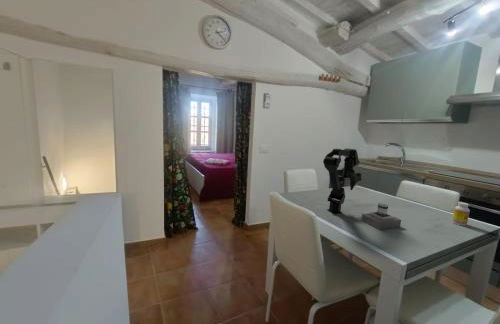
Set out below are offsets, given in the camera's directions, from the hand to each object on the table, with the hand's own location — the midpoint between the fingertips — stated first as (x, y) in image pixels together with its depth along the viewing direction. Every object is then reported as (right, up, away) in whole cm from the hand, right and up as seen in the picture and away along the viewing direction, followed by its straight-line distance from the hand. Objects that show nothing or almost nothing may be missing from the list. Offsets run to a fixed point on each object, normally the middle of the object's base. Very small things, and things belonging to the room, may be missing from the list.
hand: (345, 190), depth 154 cm
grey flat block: (+10, -16, -23) cm, 30 cm away
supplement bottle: (+61, -18, -17) cm, 66 cm away
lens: (+11, -12, -23) cm, 28 cm away
